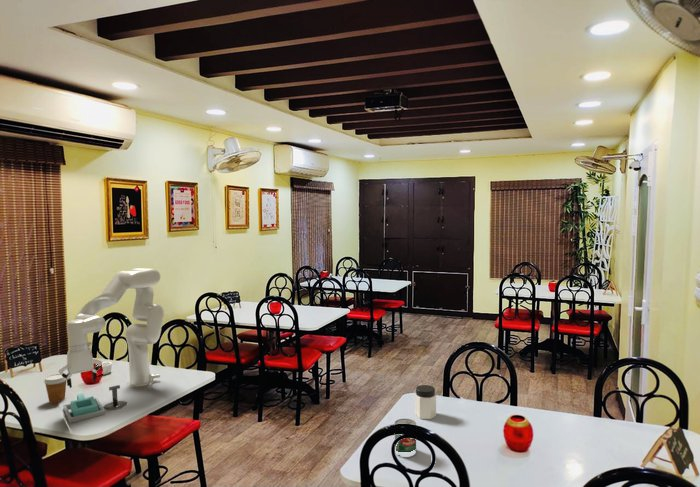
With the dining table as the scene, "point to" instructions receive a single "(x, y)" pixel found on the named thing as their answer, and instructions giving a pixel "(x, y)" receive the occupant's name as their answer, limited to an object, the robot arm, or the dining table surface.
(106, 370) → the teacup
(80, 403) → the teal box on base
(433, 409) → the jar
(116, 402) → the grey t-shaped stand
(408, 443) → the canned tomato
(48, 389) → the disposable coffee cup
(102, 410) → the tray
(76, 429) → the dining table surface
